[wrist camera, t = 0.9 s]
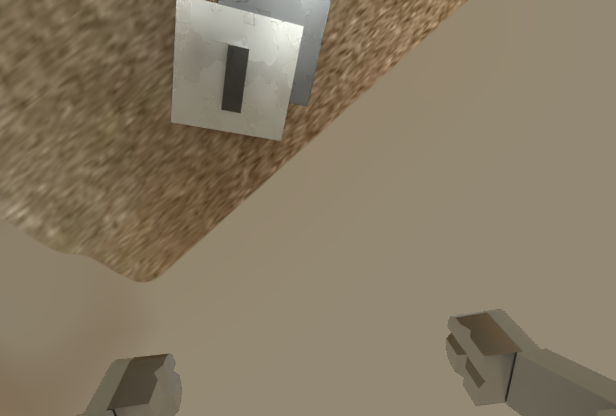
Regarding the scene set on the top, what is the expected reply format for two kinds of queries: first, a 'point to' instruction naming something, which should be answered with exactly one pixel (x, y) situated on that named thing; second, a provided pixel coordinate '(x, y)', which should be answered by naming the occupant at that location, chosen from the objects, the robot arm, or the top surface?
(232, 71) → the lid
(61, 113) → the top surface
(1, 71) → the top surface
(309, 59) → the pot
